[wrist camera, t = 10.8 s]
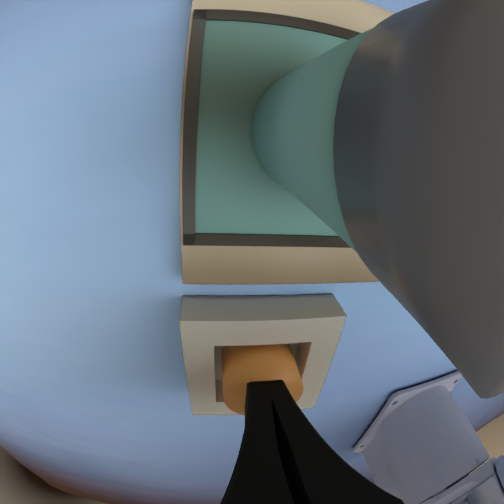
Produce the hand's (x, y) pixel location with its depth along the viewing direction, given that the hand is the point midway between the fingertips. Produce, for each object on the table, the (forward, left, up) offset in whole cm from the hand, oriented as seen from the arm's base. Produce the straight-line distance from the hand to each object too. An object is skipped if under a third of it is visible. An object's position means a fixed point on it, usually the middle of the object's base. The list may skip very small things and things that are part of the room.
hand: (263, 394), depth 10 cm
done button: (0, 0, -2) cm, 2 cm away
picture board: (+9, -4, -3) cm, 11 cm away
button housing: (0, 0, -3) cm, 3 cm away
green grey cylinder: (+9, -1, -2) cm, 10 cm away
